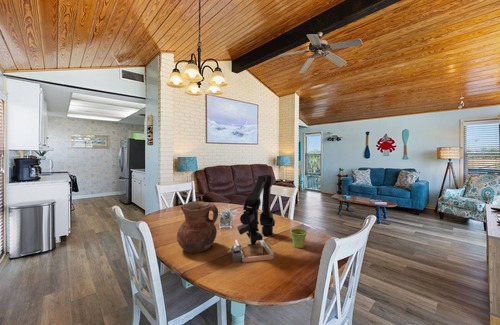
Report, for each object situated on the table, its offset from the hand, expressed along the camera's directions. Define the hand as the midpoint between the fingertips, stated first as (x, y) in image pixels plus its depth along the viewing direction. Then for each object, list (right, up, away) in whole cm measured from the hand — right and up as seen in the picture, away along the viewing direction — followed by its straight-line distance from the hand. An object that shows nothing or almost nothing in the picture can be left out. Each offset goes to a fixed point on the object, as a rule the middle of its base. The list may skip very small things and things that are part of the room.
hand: (252, 246), depth 120 cm
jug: (-31, -2, +3) cm, 31 cm away
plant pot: (+27, -2, +5) cm, 27 cm away
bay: (0, -2, -1) cm, 2 cm away
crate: (+1, -2, -4) cm, 5 cm away
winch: (-9, -2, -11) cm, 15 cm away
